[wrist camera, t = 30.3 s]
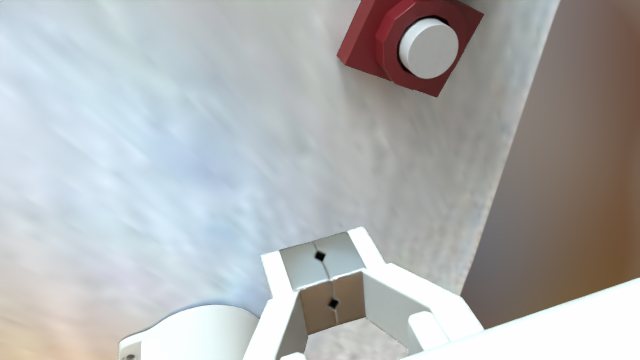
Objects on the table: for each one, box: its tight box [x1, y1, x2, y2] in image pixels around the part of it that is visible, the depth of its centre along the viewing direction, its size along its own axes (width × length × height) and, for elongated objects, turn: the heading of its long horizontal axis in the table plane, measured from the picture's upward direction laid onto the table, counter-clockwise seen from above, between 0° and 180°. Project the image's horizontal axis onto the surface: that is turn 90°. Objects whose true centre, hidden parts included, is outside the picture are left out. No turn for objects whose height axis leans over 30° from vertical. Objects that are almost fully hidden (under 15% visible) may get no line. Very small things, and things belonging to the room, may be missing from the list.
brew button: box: [399, 18, 458, 79], centre depth 40 cm, size 4×4×2 cm
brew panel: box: [337, 0, 484, 97], centre depth 42 cm, size 8×10×4 cm
